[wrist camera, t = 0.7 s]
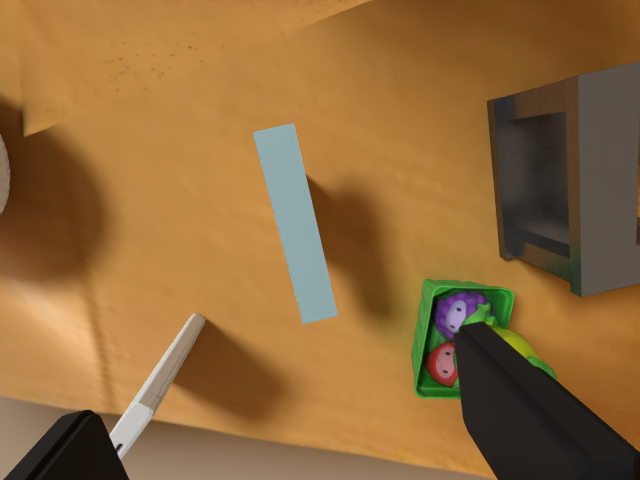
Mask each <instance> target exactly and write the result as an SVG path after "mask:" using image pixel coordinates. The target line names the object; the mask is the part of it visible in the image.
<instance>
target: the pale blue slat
mask: <svg viewBox="0 0 640 480" xmlns="http://www.w3.org/2000/svg"><path fill="white" fill-rule="evenodd" d="M253 135H254V139H255V143H256V146H257V150H258V154H259V158H260V162H261V166H262V169H263V173H264V177H265V181H266V185H267V188H268V192H269V196H270V200H271V204H272V208H273V211H274V215H275V219H276V223H277V227H278V230H279V234H280V238H281V242H282V246H283V250H284V253H285V257H286V261H287V265H288V269H289V272H290V276H291V280H292V284H293V288H294V292H295V295H296V299H297V303H298V307H299V311H300V314H301V318H302V322H303V324H306V323H310V322H314V321H318V320H323V319H327V318H331V317H335V316H338V313H337V309H336V305H335V300H334V296H333V292H332V287H331V283H330V279H329V274H328V270H327V266H326V261H325V257H324V252H323V248H322V244H321V239H320V235H319V231H318V226H317V222H316V218H315V213H314V209H313V205H312V200H311V196H310V191H309V187H308V183H307V178H306V174H305V170H304V165H303V161H302V157H301V152H300V148H299V144H298V139H297V135H296V130H295V126H294V123H291V124H287V125H283V126H278V127H274V128H270V129H265V130H261V131H256V132H253Z"/></svg>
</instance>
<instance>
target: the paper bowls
mask: <svg viewBox="0 0 640 480" xmlns="http://www.w3.org/2000/svg"><path fill="white" fill-rule="evenodd" d="M9 182H10V165H9V160H8V154H7V150H6V147H5V144H4V141H3V139H2V136H1V134H0V215H1V213H2V211H3V209H4V207H5V205H6V203H7V200H8V196H9V188H10V183H9Z"/></svg>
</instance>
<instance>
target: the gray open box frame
mask: <svg viewBox="0 0 640 480" xmlns="http://www.w3.org/2000/svg"><path fill="white" fill-rule="evenodd" d="M487 107H488V119H489V131H490V143H491V155H492V167H493V179H494V191H495V203H496V215H497V227H498V239H499V251H500V257H502V258H504V259H510V258H514V257H517V258H519V259H521V260H523V261H525V262H527V263H530V264H532V265H534V266H536V267H538V268H540V269H542V270H545V271H547V272H549V273H551V274H553V275H555V276H557V277H560V278H562V279H564V280H566V281H568V282H570V284H571V292H572V293H574V294H576V295H578V296H580V297H585V296H589V295H593V294H597V293H601V292H606V291H610V290H614V289H618V288H623V287H627V286H631V285H635V284H639V283H640V217H637V197H638V163H639V129H640V62H635V63H631V64H627V65H622V66H618V67H614V68H609V69H605V70H601V71H596V72H592V73H587V74H583V75H579V76H575V77H572V78H568V79H565V80H563V81H560V82H556V83H553V84H549V85H545V86H542V87H538V88H535V89H531V90H527V91H524V92H520V93H517V94H513V95H510V96H506V97H502V98H497V99H493V100H490V101H487Z"/></svg>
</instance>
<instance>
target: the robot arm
mask: <svg viewBox="0 0 640 480" xmlns="http://www.w3.org/2000/svg"><path fill="white" fill-rule="evenodd" d="M454 346H455V354H456V363H457V371H458V379H459V388H460V396H461V404H462V413H463V419H464V423H465V425H466V428H467V430H468V432H469V434H470V436H471V437H472V439H473V440H474V442H475V444H476V445H477V447H478V448H479V450H480V452H481V453H482V455H483V456H484V458H485V460H486V461H487V463H488V464H489V466H490V468H491V469H492V471H493V472H494V474H495V476H496V477H497V479H498V480H640V452H639V451H638V450H636V449H635V448H634V447H633V446H632V445H631V444H629V443H628V442H627V441H626V440H625V439H624V438H622V437H621V436H620V435H619V434H618V433H617V432H616V431H614V430H613V429H612V428H611V427H610V426H609V425H607V424H606V423H605V422H604V421H603V420H602V419H600V418H599V417H598V416H597V415H596V414H595V413H593V412H592V411H591V410H590V409H589V408H588V407H587V406H585V405H584V404H583V403H582V402H581V401H580V400H578V399H577V398H576V397H575V396H574V395H573V394H571V393H570V392H569V391H568V390H567V389H566V388H564V387H563V386H562V385H561V384H560V383H559V382H558V381H556V380H555V379H554V378H553V377H552V376H551V375H549V374H548V373H547V372H546V371H544V370H543V369H542V368H540V367H537V366H534V365H533V364H532V363H530V362H529V361H528V360H527V359H526V358H525V357H524V356H522V355H521V354H520V353H519V352H518V351H517V350H516V349H514V348H513V347H512V346H511V345H510V344H509V343H508V342H507V341H505V340H504V339H503V338H502V337H501V336H500V335H499V334H497V333H496V332H495V331H494V330H493V329H492V328H491V327H489V326H488V325H487V324H486V323H485V322H483V321H479V322H475V323H471V324H466V325H462V326H460V327H459V332H457V333H454ZM4 480H129V478H128V476H127V474H126V472H125V469H124V467H123V465H122V463H121V460H120V458H119V456H118V454H117V452H116V449H115V447H114V445H113V443H112V441H111V438H110V436H109V434H108V432H107V430H106V427H105V425H104V423H103V421H102V418H101V417H100V416H99V415H98V414H95V413H94V412H93V411H91V410H84V411H79V412H75V413H70V414H66V415H64V416H62V417H61V418H59V419H58V420H57V422H56V423H55V424H54V425H53V426H52V427H51V428H50V429H49V430H48V431H47V432H46V434H45V435H44V436H43V437H42V438H41V439H40V440H39V441H38V442H37V443H36V445H35V446H34V447H33V448H32V449H31V450H30V451H29V452H28V453H27V454H26V456H25V457H24V458H23V459H22V460H21V461H20V462H19V463H18V464H17V465H16V467H15V468H14V469H13V470H12V471H11V472H10V473H9V474H8V475H7V477H6V478H4Z"/></svg>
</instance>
